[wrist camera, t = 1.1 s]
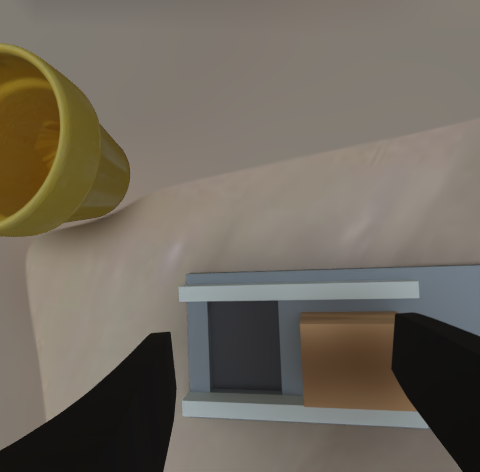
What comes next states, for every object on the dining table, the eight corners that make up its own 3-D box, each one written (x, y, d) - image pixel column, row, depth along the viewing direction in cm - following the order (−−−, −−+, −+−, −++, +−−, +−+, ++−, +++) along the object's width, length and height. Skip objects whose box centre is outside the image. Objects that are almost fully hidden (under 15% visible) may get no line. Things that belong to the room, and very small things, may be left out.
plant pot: (30, 127, 29) (-107, 65, 19) (143, 99, 27) (55, 16, 18) (42, 249, 28) (-93, 248, 19) (160, 229, 26) (77, 217, 17)
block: (400, 383, 22) (421, 411, 18) (304, 380, 23) (303, 406, 19) (396, 311, 22) (415, 324, 18) (300, 312, 23) (299, 324, 19)
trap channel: (595, 429, 21) (634, 453, 18) (194, 410, 25) (183, 427, 23) (580, 261, 21) (616, 262, 19) (190, 273, 26) (178, 275, 23)
